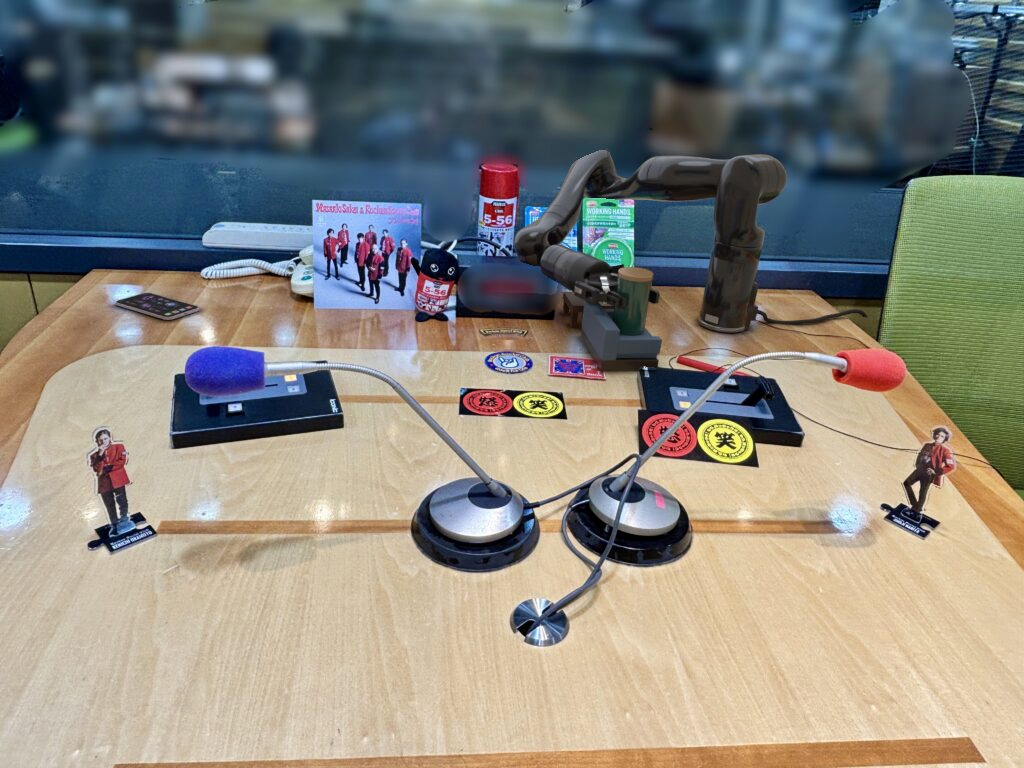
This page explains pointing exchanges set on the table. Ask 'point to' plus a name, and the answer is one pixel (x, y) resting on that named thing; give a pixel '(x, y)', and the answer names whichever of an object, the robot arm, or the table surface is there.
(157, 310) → the smartphone
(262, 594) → the table surface
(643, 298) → the canister
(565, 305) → the stool
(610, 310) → the sofa
